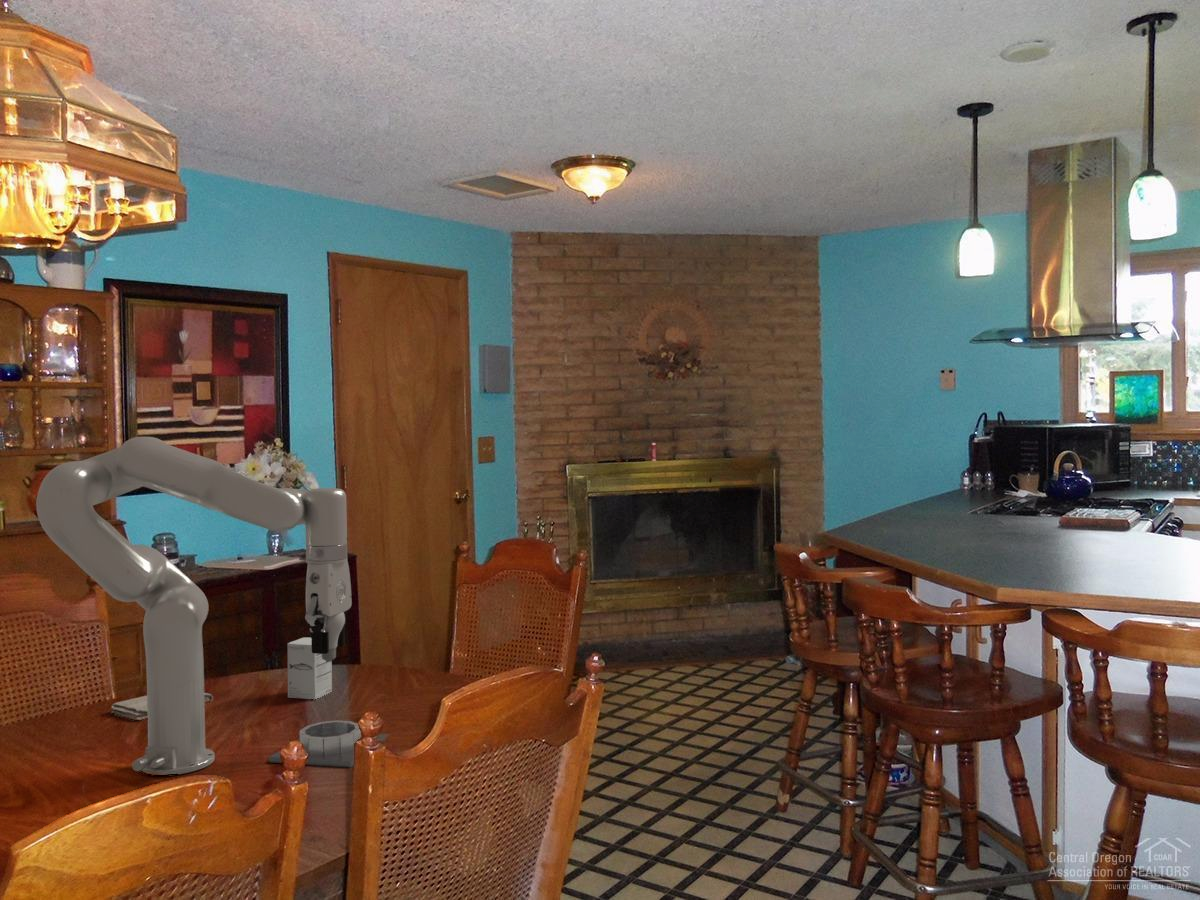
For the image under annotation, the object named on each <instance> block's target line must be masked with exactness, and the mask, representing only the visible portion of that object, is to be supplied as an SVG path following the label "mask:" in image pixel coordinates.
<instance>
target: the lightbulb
mask: <svg viewBox="0 0 1200 900" xmlns="http://www.w3.org/2000/svg"><path fill="white" fill-rule="evenodd" d="M317 615H323V613H322V612H317ZM317 620H319V621H320V622H321V624H322V619H317ZM344 623H345V624H346V615H344V613H343V612H341V613H339V614H337V615H335V616H332V617H328V623H327V629H326V632H329V652H328V653H327V654H322V659H323V660H325V661H326V662H331V661H333V660H335V659H336V657H337V647H338V646H337V642H338V637H339V634H340V632H341V630H342V628H343V626H344V627H345V624H344Z"/></svg>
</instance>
